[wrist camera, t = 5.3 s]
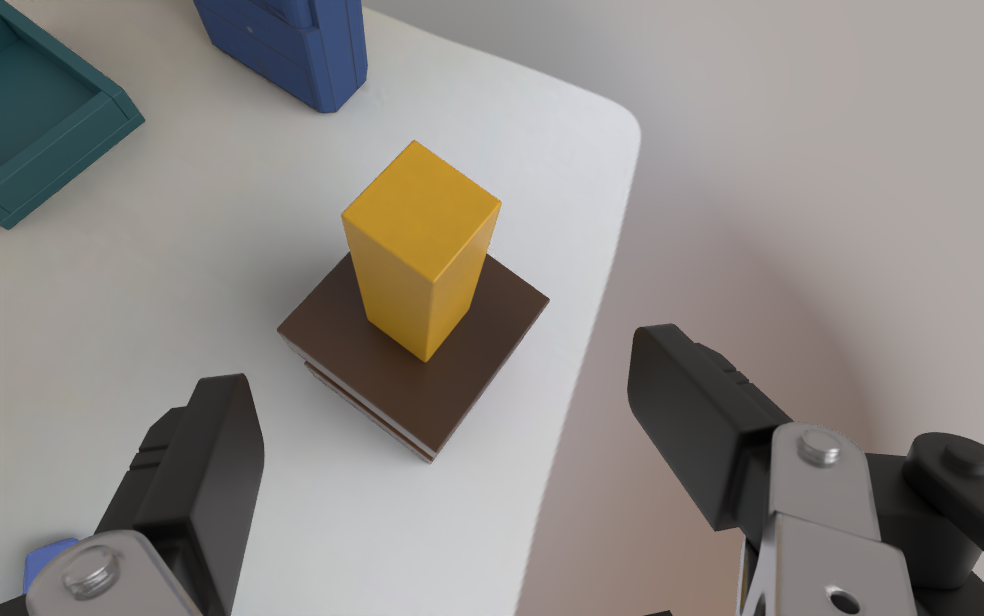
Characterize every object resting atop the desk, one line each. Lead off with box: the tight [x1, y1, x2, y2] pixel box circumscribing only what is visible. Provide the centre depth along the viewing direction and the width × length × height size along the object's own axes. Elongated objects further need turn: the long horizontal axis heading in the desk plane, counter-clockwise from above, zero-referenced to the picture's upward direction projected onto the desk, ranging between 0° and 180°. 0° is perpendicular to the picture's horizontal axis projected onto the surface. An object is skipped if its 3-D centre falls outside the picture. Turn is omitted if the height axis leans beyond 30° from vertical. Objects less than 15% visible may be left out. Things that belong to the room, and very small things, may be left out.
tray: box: [0, 0, 145, 230], centre depth 31 cm, size 10×10×3 cm
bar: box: [341, 140, 502, 363], centre depth 19 cm, size 3×3×9 cm
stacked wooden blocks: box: [277, 252, 550, 464], centre depth 27 cm, size 8×8×9 cm
